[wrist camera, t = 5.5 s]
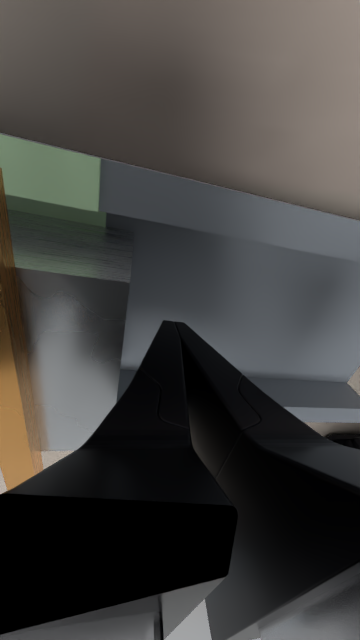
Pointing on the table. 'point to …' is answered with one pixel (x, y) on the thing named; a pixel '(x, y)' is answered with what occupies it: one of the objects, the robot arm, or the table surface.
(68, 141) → the table surface
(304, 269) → the track
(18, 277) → the gauge sled
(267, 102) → the table surface
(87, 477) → the robot arm
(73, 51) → the table surface
